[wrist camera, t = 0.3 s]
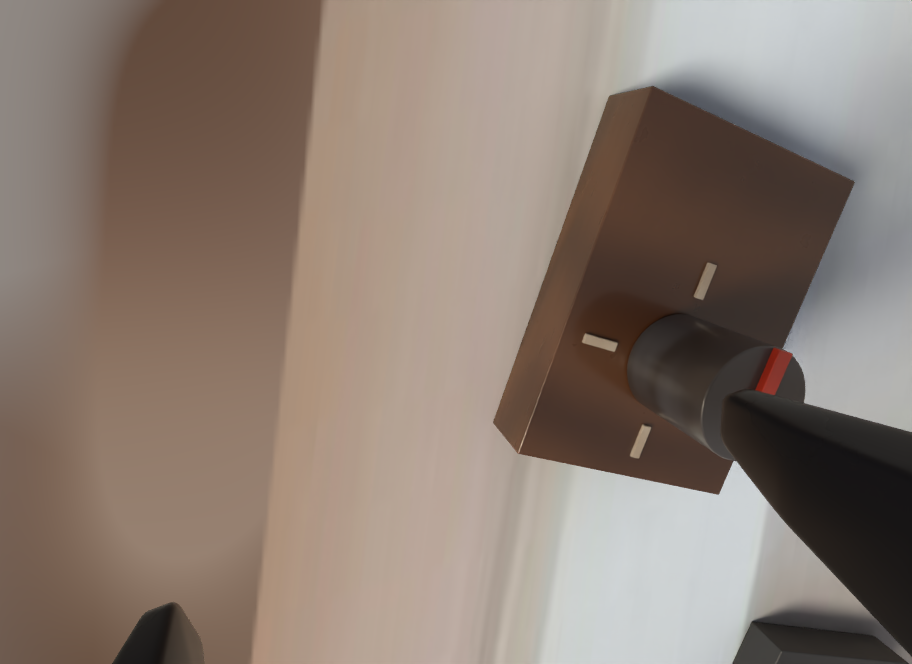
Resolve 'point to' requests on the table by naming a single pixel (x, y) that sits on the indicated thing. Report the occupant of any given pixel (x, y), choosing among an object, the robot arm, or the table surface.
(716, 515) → the table surface
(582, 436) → the knob panel
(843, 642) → the button box
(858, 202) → the table surface
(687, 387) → the knob
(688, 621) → the table surface
